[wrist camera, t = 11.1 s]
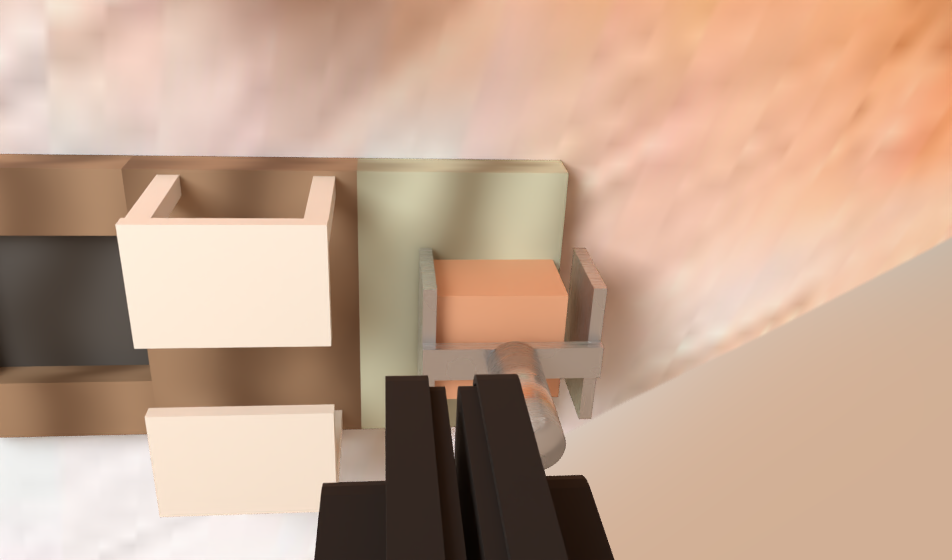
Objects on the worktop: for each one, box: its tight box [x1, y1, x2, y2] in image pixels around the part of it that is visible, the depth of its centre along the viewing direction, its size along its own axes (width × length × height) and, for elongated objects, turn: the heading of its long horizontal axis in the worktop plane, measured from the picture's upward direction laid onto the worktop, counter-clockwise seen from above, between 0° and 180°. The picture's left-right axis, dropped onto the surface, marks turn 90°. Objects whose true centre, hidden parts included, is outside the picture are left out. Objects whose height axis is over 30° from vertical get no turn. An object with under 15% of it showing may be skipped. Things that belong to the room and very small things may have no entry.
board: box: [0, 154, 569, 437], centre depth 43 cm, size 30×14×2 cm, turn 88°
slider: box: [417, 248, 607, 469], centre depth 38 cm, size 8×7×11 cm
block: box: [433, 259, 568, 399], centre depth 41 cm, size 6×6×4 cm
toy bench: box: [115, 175, 343, 517], centre depth 39 cm, size 8×14×6 cm, turn 178°
